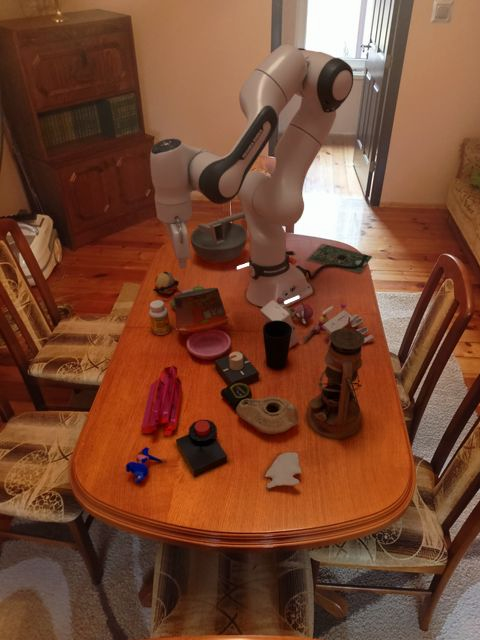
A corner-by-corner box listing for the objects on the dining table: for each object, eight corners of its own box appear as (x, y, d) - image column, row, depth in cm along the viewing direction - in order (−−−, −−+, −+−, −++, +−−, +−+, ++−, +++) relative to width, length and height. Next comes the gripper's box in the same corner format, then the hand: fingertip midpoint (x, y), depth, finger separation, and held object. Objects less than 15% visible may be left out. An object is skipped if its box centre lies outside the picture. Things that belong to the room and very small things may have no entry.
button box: (210, 427, 116) (209, 415, 114) (231, 459, 109) (231, 448, 107) (174, 442, 113) (172, 430, 110) (194, 476, 106) (192, 465, 103)
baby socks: (358, 311, 148) (360, 317, 149) (342, 319, 148) (344, 325, 150) (375, 336, 139) (376, 342, 141) (358, 344, 140) (360, 350, 141)
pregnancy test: (352, 320, 146) (354, 318, 145) (331, 336, 138) (333, 333, 137) (334, 304, 148) (336, 301, 147) (312, 319, 140) (314, 316, 139)
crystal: (137, 425, 110) (154, 354, 129) (140, 440, 113) (155, 369, 132) (174, 426, 110) (185, 355, 129) (175, 441, 114) (186, 370, 133)
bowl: (192, 246, 187) (190, 222, 180) (245, 244, 188) (245, 220, 182) (192, 273, 171) (190, 248, 165) (250, 270, 173) (249, 245, 166)
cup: (270, 375, 131) (271, 341, 123) (257, 359, 136) (257, 325, 128) (295, 366, 133) (297, 332, 126) (281, 351, 138) (282, 317, 131)
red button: (206, 423, 113) (205, 418, 112) (212, 433, 110) (212, 427, 109) (192, 429, 111) (192, 423, 110) (199, 438, 109) (198, 433, 108)
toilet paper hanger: (247, 219, 186) (245, 204, 182) (267, 226, 176) (266, 210, 173) (197, 236, 175) (194, 220, 172) (217, 243, 166) (214, 226, 163)
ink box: (271, 334, 145) (258, 310, 136) (284, 324, 145) (272, 298, 137) (288, 349, 139) (275, 325, 130) (301, 338, 140) (289, 313, 131)
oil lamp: (238, 405, 122) (237, 382, 117) (298, 408, 121) (299, 385, 116) (233, 439, 114) (232, 416, 108) (297, 443, 113) (299, 419, 108)
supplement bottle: (166, 322, 149) (161, 296, 143) (173, 331, 146) (169, 305, 139) (149, 328, 147) (144, 302, 141) (157, 337, 143) (152, 311, 137)
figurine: (137, 470, 100) (143, 487, 103) (157, 446, 106) (163, 462, 109) (119, 466, 102) (126, 483, 105) (140, 443, 108) (146, 459, 111)
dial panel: (241, 359, 136) (240, 350, 134) (258, 380, 129) (258, 371, 127) (215, 368, 133) (214, 360, 131) (232, 390, 126) (231, 382, 124)
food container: (206, 286, 150) (213, 320, 152) (159, 297, 141) (167, 333, 144) (233, 285, 137) (240, 322, 139) (183, 298, 128) (191, 337, 131)
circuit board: (359, 273, 172) (359, 271, 171) (308, 259, 179) (308, 258, 179) (372, 257, 181) (372, 255, 180) (322, 244, 188) (323, 243, 188)
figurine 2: (270, 312, 136) (322, 304, 136) (264, 297, 147) (312, 290, 148) (274, 347, 140) (324, 339, 141) (268, 330, 152) (314, 322, 153)
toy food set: (182, 322, 149) (181, 313, 147) (164, 302, 157) (163, 293, 155) (220, 309, 154) (219, 300, 152) (201, 290, 163) (200, 281, 161)
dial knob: (239, 360, 131) (238, 349, 128) (245, 367, 128) (245, 356, 126) (227, 364, 129) (226, 353, 127) (233, 372, 127) (233, 361, 125)
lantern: (303, 394, 125) (311, 296, 106) (353, 393, 125) (370, 296, 106) (310, 445, 112) (320, 345, 93) (366, 444, 112) (387, 344, 93)
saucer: (212, 331, 145) (211, 322, 143) (240, 350, 139) (239, 341, 137) (178, 349, 139) (177, 341, 137) (206, 370, 132) (205, 361, 130)
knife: (285, 254, 181) (285, 256, 181) (294, 252, 182) (294, 253, 183) (266, 240, 190) (266, 241, 191) (275, 237, 192) (275, 239, 192)
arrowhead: (260, 483, 102) (269, 451, 110) (263, 491, 103) (271, 458, 111) (298, 481, 100) (303, 448, 108) (300, 489, 101) (306, 456, 109)
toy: (160, 267, 165) (142, 272, 151) (185, 269, 164) (169, 274, 150) (160, 290, 168) (142, 297, 153) (185, 292, 166) (169, 299, 152)
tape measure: (219, 398, 124) (219, 387, 122) (242, 387, 127) (242, 377, 125) (233, 414, 120) (233, 404, 117) (257, 403, 123) (256, 392, 120)
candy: (345, 349, 139) (347, 332, 135) (317, 347, 140) (318, 330, 136) (344, 313, 153) (347, 297, 149) (319, 311, 153) (320, 295, 150)
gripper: (193, 225, 114) (198, 276, 123) (180, 193, 129) (185, 240, 138) (167, 228, 113) (173, 279, 122) (156, 195, 128) (163, 243, 137)
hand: (179, 258), depth 130 cm, fingers open, 8 cm apart
